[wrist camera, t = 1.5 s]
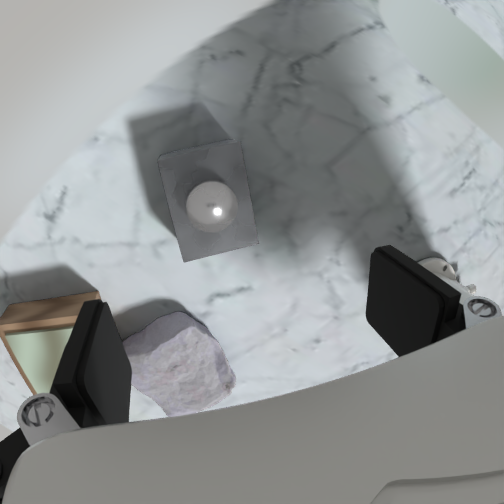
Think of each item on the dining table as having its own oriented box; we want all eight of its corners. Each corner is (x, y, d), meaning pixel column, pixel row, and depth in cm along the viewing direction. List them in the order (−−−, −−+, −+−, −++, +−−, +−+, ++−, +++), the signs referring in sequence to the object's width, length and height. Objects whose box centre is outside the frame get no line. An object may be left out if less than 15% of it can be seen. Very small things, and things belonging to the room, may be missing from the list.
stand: (98, 291, 28) (89, 316, 24) (129, 375, 33) (127, 403, 29) (9, 304, 26) (-7, 328, 22) (48, 382, 31) (39, 408, 27)
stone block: (182, 292, 33) (107, 345, 31) (194, 313, 28) (110, 373, 26) (237, 361, 38) (172, 405, 36) (253, 384, 34) (182, 432, 32)
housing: (230, 139, 26) (243, 142, 21) (247, 226, 30) (262, 249, 24) (160, 155, 25) (156, 162, 20) (182, 242, 29) (184, 269, 24)
